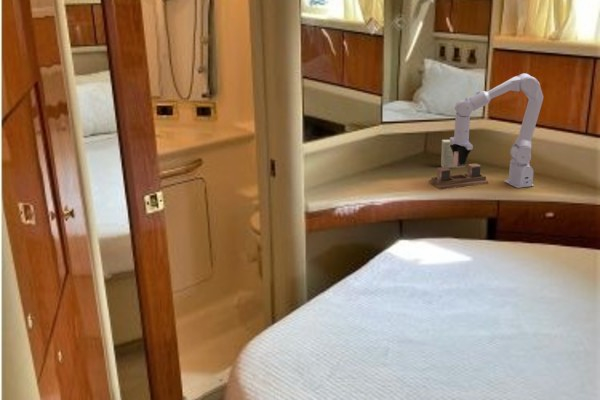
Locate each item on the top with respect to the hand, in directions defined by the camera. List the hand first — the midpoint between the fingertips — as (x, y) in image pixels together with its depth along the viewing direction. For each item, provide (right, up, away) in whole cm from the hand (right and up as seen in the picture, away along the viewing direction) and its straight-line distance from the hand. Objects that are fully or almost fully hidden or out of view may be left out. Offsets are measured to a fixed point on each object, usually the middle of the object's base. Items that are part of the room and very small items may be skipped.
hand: (459, 162), depth 241 cm
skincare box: (+2, 0, +26) cm, 26 cm away
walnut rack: (0, -8, +3) cm, 9 cm away
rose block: (0, -1, 0) cm, 2 cm away
